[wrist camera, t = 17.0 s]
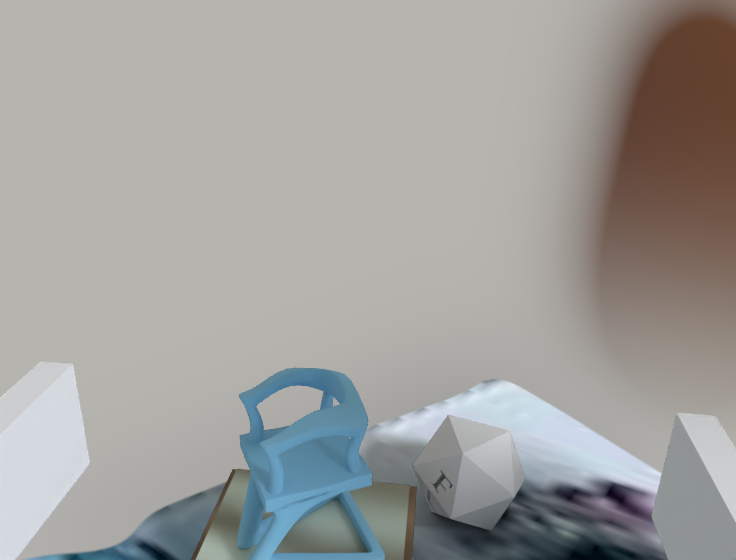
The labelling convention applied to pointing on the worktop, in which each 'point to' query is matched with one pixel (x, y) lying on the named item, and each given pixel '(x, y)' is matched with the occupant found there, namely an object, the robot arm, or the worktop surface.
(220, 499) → the base block
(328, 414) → the chair
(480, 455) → the die
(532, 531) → the worktop surface
